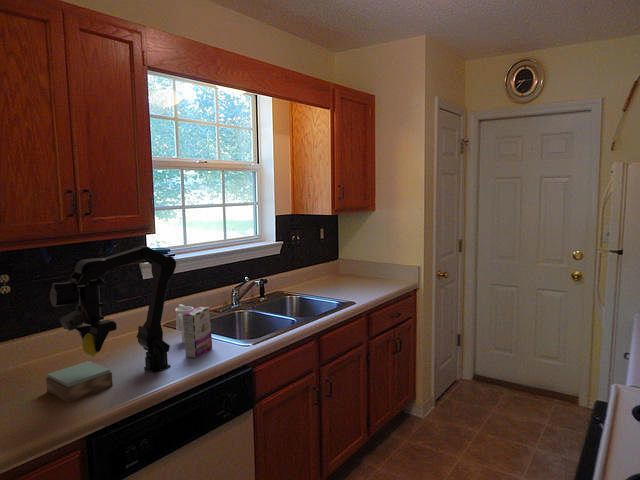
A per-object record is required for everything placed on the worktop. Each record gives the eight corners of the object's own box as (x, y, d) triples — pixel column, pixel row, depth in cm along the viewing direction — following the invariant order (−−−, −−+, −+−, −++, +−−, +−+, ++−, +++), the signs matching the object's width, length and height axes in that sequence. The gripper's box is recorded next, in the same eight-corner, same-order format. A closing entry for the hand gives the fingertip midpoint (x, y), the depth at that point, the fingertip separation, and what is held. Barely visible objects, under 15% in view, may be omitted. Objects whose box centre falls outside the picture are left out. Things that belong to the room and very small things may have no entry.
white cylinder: (189, 338, 195) (187, 302, 193) (198, 341, 190) (196, 305, 188) (173, 342, 190) (171, 305, 188) (182, 346, 185) (180, 309, 183)
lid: (89, 363, 156) (88, 360, 156) (110, 372, 148) (109, 369, 148) (47, 377, 145) (47, 374, 145) (68, 387, 138) (67, 383, 138)
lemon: (105, 352, 150) (104, 328, 149) (98, 359, 144) (96, 333, 143) (87, 353, 149) (86, 328, 148) (80, 359, 144) (78, 334, 143)
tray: (91, 376, 157) (90, 363, 156) (112, 386, 149) (111, 372, 149) (47, 391, 146) (45, 378, 145) (67, 402, 138) (66, 388, 137)
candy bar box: (201, 347, 184) (199, 306, 182) (212, 348, 182) (210, 307, 180) (184, 357, 173) (182, 313, 171) (196, 358, 172) (193, 314, 170)
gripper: (47, 301, 144) (51, 351, 145) (79, 310, 133) (83, 364, 135) (83, 295, 153) (86, 341, 154) (116, 302, 142) (119, 352, 144)
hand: (92, 349), depth 146 cm, fingers closed on lemon, 5 cm apart
